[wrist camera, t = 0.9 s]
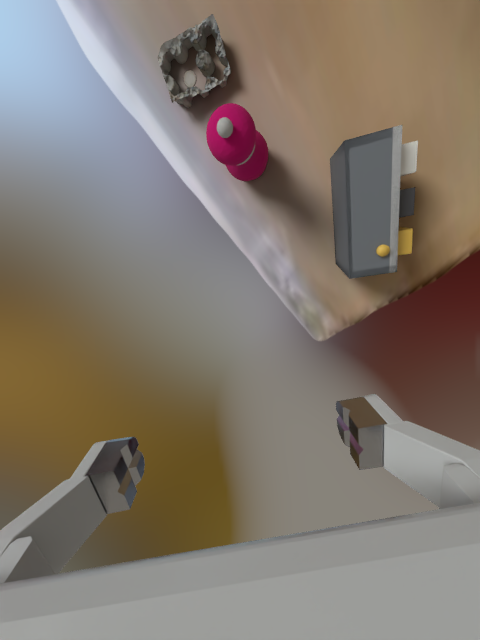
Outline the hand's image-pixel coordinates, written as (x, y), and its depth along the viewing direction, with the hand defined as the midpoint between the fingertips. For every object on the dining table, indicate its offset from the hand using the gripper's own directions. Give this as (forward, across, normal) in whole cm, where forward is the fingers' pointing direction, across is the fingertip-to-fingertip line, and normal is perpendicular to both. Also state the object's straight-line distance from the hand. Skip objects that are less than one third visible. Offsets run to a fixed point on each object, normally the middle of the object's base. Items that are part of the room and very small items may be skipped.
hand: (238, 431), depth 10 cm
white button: (+33, -27, -14) cm, 45 cm away
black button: (+33, -27, -9) cm, 44 cm away
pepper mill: (+42, -7, -21) cm, 48 cm away
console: (+39, -24, -9) cm, 47 cm away
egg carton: (+43, -1, -35) cm, 55 cm away
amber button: (+33, -27, -3) cm, 43 cm away
